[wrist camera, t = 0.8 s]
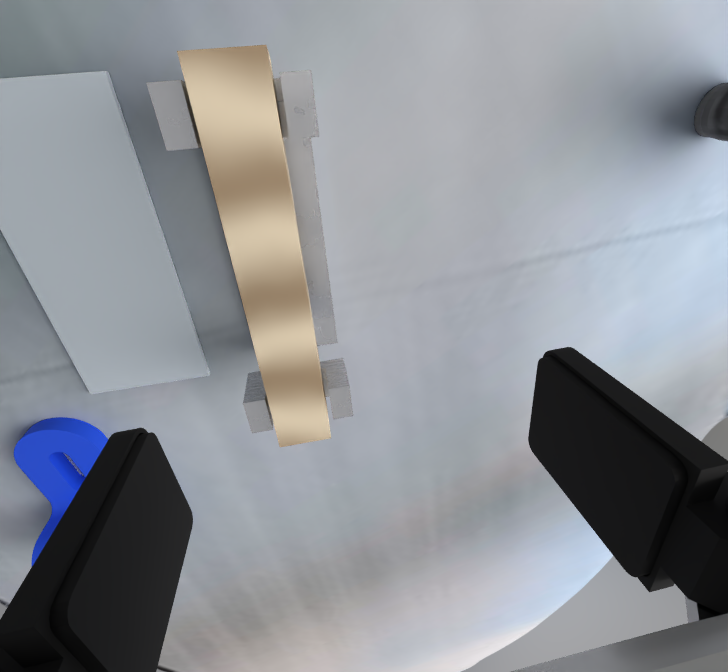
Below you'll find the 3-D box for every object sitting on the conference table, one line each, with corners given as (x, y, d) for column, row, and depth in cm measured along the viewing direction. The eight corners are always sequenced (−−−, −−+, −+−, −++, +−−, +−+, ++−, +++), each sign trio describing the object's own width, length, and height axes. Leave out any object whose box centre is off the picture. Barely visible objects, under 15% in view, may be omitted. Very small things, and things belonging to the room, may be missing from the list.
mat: (-73, 85, 27) (-80, 84, 26) (108, 71, 28) (104, 71, 28) (93, 390, 40) (90, 394, 40) (210, 372, 42) (209, 375, 41)
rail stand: (200, 96, 30) (146, 82, 19) (303, 88, 31) (311, 69, 19) (262, 348, 41) (252, 433, 30) (336, 337, 42) (353, 415, 31)
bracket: (158, 512, 51) (134, 583, 43) (93, 528, 50) (57, 602, 42) (88, 409, 42) (42, 475, 34) (8, 426, 41) (-57, 497, 33)
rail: (195, 62, 21) (177, 51, 17) (270, 57, 21) (266, 44, 18) (280, 413, 33) (280, 447, 30) (326, 405, 34) (331, 438, 30)
